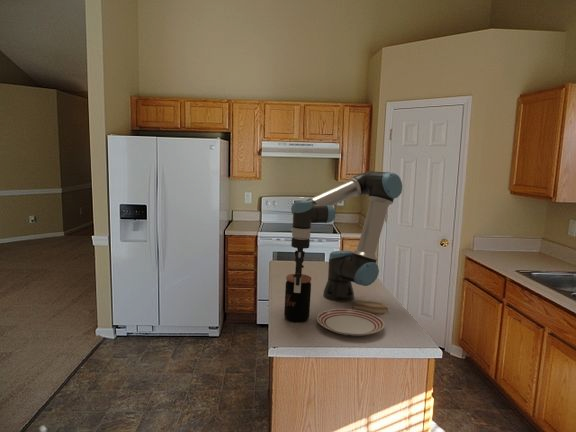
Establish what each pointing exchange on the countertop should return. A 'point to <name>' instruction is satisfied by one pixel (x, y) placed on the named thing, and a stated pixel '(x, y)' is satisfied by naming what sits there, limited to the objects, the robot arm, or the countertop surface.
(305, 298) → the coffee jar
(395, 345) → the countertop surface
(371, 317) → the dinner plate
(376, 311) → the cork trivet
